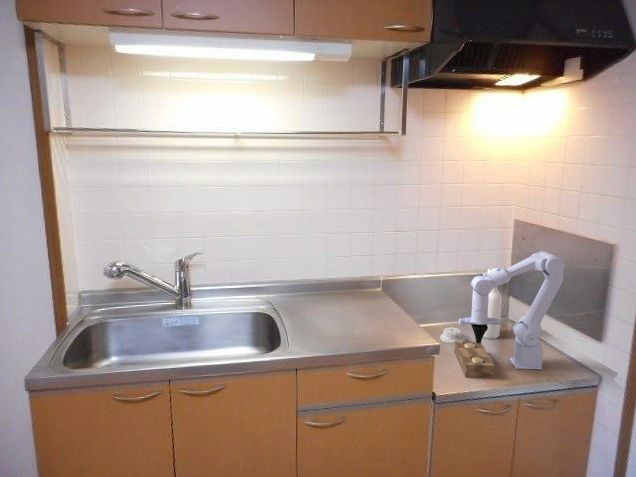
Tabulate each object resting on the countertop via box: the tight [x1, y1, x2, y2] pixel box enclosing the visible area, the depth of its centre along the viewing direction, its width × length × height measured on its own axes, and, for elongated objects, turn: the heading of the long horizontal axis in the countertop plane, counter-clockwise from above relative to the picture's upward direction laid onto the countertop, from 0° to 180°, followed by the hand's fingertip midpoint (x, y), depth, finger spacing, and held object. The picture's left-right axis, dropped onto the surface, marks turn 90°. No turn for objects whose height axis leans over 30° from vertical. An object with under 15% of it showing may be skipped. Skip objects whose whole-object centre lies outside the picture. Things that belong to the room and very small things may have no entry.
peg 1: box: [465, 343, 475, 348], centre depth 180 cm, size 4×4×5 cm
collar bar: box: [453, 340, 496, 379], centre depth 174 cm, size 10×20×5 cm, turn 175°
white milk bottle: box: [482, 267, 503, 340], centre depth 196 cm, size 9×9×30 cm
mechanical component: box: [439, 326, 465, 345], centre depth 196 cm, size 10×4×10 cm
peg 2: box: [472, 357, 483, 363], centre depth 168 cm, size 4×4×5 cm
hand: (478, 342), depth 172 cm, fingers closed
